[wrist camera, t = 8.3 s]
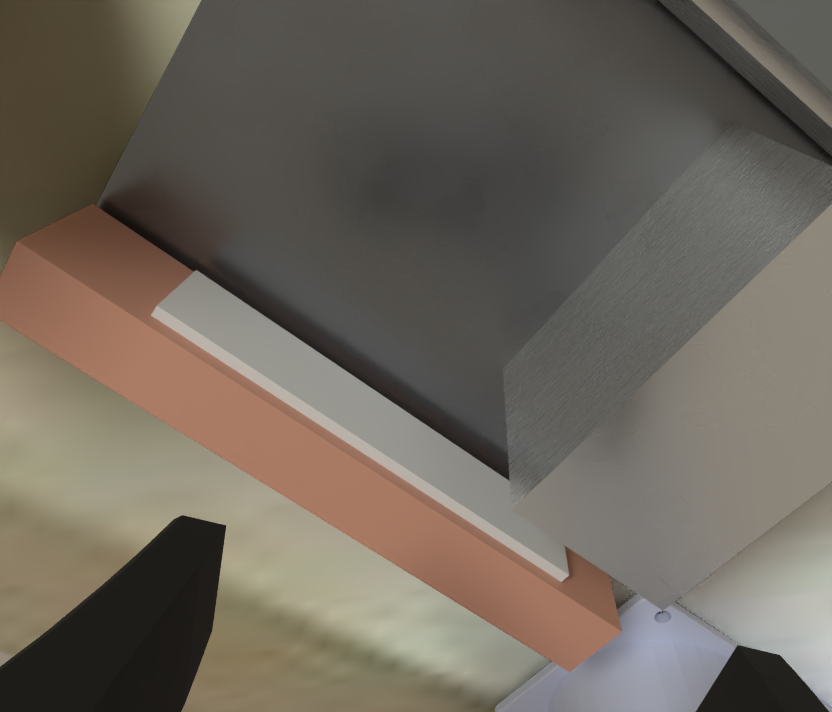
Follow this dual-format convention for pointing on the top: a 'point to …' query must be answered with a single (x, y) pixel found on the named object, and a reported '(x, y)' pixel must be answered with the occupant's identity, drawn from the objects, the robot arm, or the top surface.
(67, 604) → the top surface
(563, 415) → the steel block
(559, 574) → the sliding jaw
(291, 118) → the vise bed
